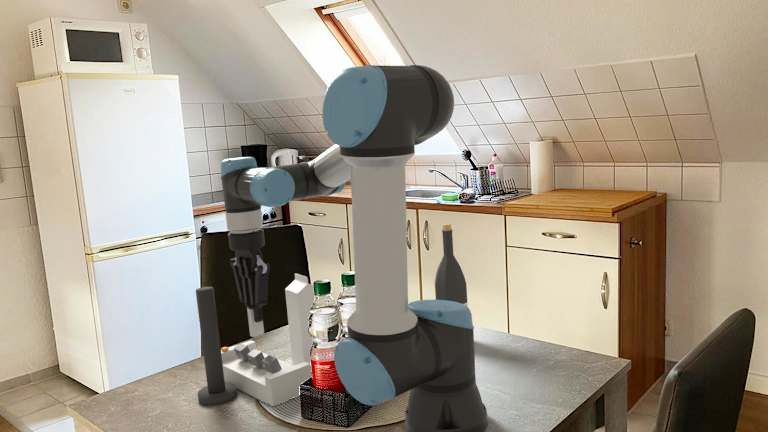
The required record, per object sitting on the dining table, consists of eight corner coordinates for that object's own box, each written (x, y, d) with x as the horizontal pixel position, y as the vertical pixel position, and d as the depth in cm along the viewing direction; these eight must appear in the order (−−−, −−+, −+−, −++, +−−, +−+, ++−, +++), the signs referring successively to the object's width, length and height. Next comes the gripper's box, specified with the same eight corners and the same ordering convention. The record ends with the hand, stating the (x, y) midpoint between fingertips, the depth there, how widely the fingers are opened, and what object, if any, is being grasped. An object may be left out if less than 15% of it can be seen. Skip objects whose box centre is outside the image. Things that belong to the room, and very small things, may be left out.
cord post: (243, 395, 137) (231, 287, 133) (209, 409, 132) (195, 296, 128) (225, 385, 143) (212, 281, 139) (191, 398, 138) (177, 290, 134)
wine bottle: (433, 347, 157) (425, 227, 152) (443, 336, 164) (436, 221, 159) (465, 350, 153) (458, 227, 149) (474, 338, 161) (467, 221, 156)
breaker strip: (312, 390, 137) (309, 361, 136) (273, 407, 131) (270, 376, 130) (253, 363, 155) (250, 337, 154) (216, 377, 148) (212, 350, 147)
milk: (305, 372, 147) (295, 280, 144) (292, 365, 152) (282, 275, 148) (327, 365, 151) (318, 274, 147) (314, 358, 156) (305, 270, 152)
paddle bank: (287, 373, 136) (280, 359, 135) (280, 379, 135) (273, 365, 134) (243, 354, 149) (237, 341, 148) (236, 359, 148) (230, 346, 147)
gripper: (277, 229, 135) (288, 336, 139) (245, 224, 144) (256, 324, 148) (246, 235, 130) (258, 346, 134) (215, 230, 139) (227, 333, 143)
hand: (257, 334), depth 141 cm, fingers closed
